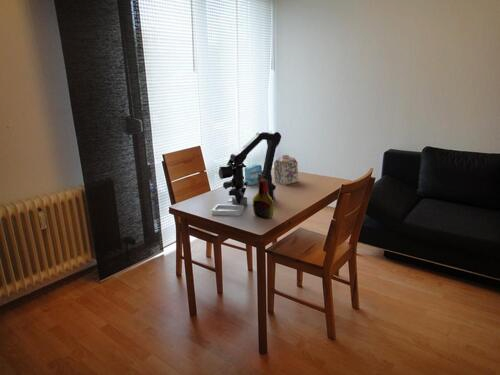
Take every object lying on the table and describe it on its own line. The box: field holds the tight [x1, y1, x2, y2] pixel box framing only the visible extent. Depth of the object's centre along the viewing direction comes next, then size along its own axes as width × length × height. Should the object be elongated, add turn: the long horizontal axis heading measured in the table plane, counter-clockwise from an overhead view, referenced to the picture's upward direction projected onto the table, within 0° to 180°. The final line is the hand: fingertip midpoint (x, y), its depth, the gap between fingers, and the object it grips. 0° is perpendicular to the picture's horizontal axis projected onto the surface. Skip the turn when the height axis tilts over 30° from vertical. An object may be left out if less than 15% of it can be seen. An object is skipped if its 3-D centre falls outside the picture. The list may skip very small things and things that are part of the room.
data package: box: [244, 163, 263, 186], centre depth 239 cm, size 12×4×12 cm, turn 134°
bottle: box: [252, 179, 275, 219], centre depth 180 cm, size 12×6×20 cm, turn 50°
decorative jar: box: [273, 154, 299, 186], centre depth 237 cm, size 12×12×18 cm
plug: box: [227, 196, 248, 207], centre depth 201 cm, size 11×4×4 cm, turn 76°
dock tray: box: [211, 204, 245, 217], centre depth 192 cm, size 15×9×2 cm, turn 76°
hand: (239, 202), depth 201 cm, fingers closed on plug, 4 cm apart
